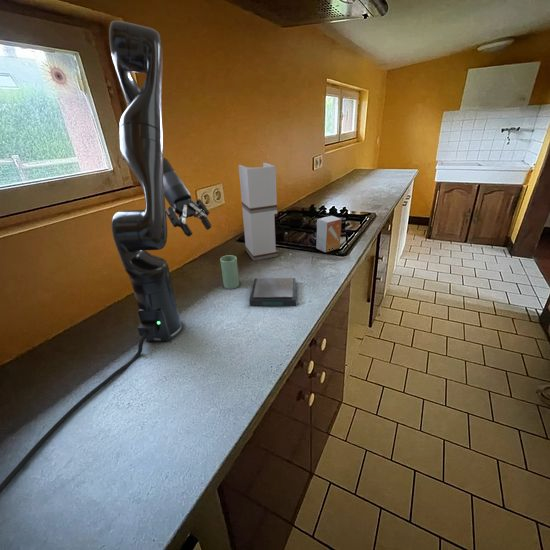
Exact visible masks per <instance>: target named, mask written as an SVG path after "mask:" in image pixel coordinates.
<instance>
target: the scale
mask: <svg viewBox="0 0 550 550" xmlns="http://www.w3.org/2000/svg"><path fill="white" fill-rule="evenodd" d="M296 281H297V279H296V277H255V278H254V280H253V284H252V286H251V287H252V288H251V293H250V296H249V300H248V301H249V306H250V307H278V306H279V307H282V306H283V307H290V306H291V307H295V306H297V282H296Z"/></svg>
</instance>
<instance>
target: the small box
mask: <svg viewBox="0 0 550 550" xmlns="http://www.w3.org/2000/svg"><path fill="white" fill-rule="evenodd" d="M342 221H343V219H342V218H340V217H337V216H335V215H328V216H324V217H321V218H317V219H316V239H315V241H316V243H315V248H316V249H317V250H319V251H321V252H323V253H329V252H331V251H335V250H338V249H340V247H341V234H342ZM332 248H333V249H332ZM329 249H330V250H329Z"/></svg>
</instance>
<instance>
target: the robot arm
mask: <svg viewBox="0 0 550 550" xmlns="http://www.w3.org/2000/svg"><path fill="white" fill-rule="evenodd" d="M108 29H109V30H108V41H109V43H108V44H109V50H110V55H111V59H112V63H113V65H114V69H115V72H116V75H117V78H118V81H119V84H120V88H121V90H122V94H123V96H124V99H125V102H126V106H127V107H126V108H125V110H124V111H123V113H122V115H121V117H120V120H119V124H118V125H119V151H120V154H121V156H122V158H123V160H124V162H125V164H127V166H128V168H129V169H130V171H131V172H132V174H133V175H134V177H135V179H137V181H138V182H139V185H140V186H141V188H142V191H143V196H144V200H145V201H144V202H145V209H128V210H127V209H126V210H119V211H117V212H115V213H114V214H113V216H112V218H111V223H110V224H111V225H110V227H111V228H110V229H111V234H112V238H113V242H114V244H115V247H116V250H117V252H118V256H119V258H120V261H121V263H122V266H123V269H124V271H125V272H126V274H127V275H128V277H129V280H130V285H131V288H132V291H133V295H134V299H135V302H136V305H137V308H138V310H137V314H138V317H139V321H140V324H139V325H138V326H137V332H138V335H139V337H141V338H140V340H139V343H138V349H137V352H136V353H135V355H134V356H133V357H132V358H131V359H130V360H129V361H128V362H126V363H125V364H124V365H122V366H120V368H118V369H117V370H115V371H114V372H113V373H112V374H110V375H109V376H108V377H107V378H105V380H103V381H102V382H100V384H98V385H97V386H96V387H94V388H93V389H92V390H91V391H90V392H88V393H87V394H86V395H85V396H83V397H82V398H81V399H80V400H79V401H78V402H77V403H75V405H73V406H72V407H71V408H70V409H69V410H68V411H67V412H66V413H65V414H63V416H62V417H61V418H60V419H59V420H58V421H57V422H56V423H55V424H54V425H53V426H52V427H51V428H50V429H49V430H48V431H47V432H46V433H45V434H44V435H43V436H42V437H41V439H39V441H37V443H36V444H35V445H34V446H33V447H32V448H31V449H30V450H29V452H28V453H27V454H26V455H25V456H24V457H23V458H22V459H21V461H20V462H19V463H18V464H17V465H16V466H15V467H14V468H13V469H12V471H11V472H10V473H9V474H8V475H7V476H6V478H5V479H4V480H2V482H1V483H0V494H1V493H2V492H3V491H4V489H5V488H6V487H7V486H8V485H9V484H11V482H12V481H13V479H14V478H15V477H16V476H17V475H18V474H19V473H20V472H21V470H22V469H23V468H24V467H25V466H26V465H27V463H28V462H29V461H30V460H31V459H32V457H33V456H34V455H35V454H36V452H38V450H39V449H40V448H41V447H42V446H43V445H44V444H45V443H46V442H47V441H48V439H50V437H52V436H53V434H54V433H56V431H57V430H58V429H59V428H60V427H61V426H62V425H63V424H64V423H65V422H66V421H67V420H68V419H69V418H70V417H71V416H72V415H73V414H74V413H75V412H76V411H77V410H78V409H79V408H80V407H81V406H83V405H84V404H85V403H86V402H87V401H88V400H89V399H90V398H91V397H93V396H94V395H95V394H96V393H97V392H99V391H100V390H101V389H102V388H104V387H105V386H106V385H107V384H109V383H110V382H111V381H112V380H113V379H114V378H116V377H117V376H118V375H120V374H121V373H122V372H123V371H125V370H126V369H128V368H129V367H130V366H131V365H132V364H133V363H134V362H136V360H137V359H139V357H140V356H141V354H142V352H143V347H144V346H143V345H144V343H145V340H146V342H170V341H171V339H172V338H174V337H176V336H177V335H179V333H180V332H181V331H182V329H183V324H182V321H181V316H180V313H179V307H178V303H177V299H176V295H175V290H174V287H173V281H172V277H171V272H170V268H169V264H168V262H167V260H166V259H164V258H163V257H161V256H157V255H155V254H152V253H150V252H149V251H159V250H162V249H164V248H165V246H166V244H167V241H168V220H167V218H168V219H169V221H170V223H171V224H172V226H173V227H174V228H176V227H179V228H180V229H181V230H182V232H183V234H184V235H185V236H186V237H188V238H189V237H191V236H192V235H193V231H192V230H191V228H190V226H189V225H188V223H186V220H187V219H188V218H192V217H194V218H197V219H199V220H200V222H201V223H202V225H203V227H204V228H205V230H207V231H208V230H210V229H211V228H212V224H211V222H210V220H209V219H208V216H209V215H210V211H209V210H208V209H207V207H206V205H205V203H204V202H203V201H202V200H201V199H200V198H199V199H197V200H196V201H194V200H193V199H192V195H191V193H190V191H189V190H188V188H187V187H186V185H185V183H184V182H183V180H182V179H181V177H180V176H179V175H178V174H177V172H176V170H175V169H174V168H173V166H172V164H171V163H170V161H169V160H168V159H167V158H166V157H164V125H163V109H162V107H163V106H162V103H163V102H162V99H163V98H162V96H163V93H162V92H163V70H164V69H163V68H164V49H163V48H164V47H163V41H162V37H161V34H160V33H159V32H158V31H157V30H156V29H154V28H152V27H149V26H145V25H140V24H136V23H131V22H129V21H128V22H127V21H123V20H112V21H111V22H110V24H109V28H108ZM132 73H136V74H142V75H146V76H145V80H144V83H143V85H142V87H141V86H140V85H139V84H138V81H136V79H135V78H134V75H133V74H132ZM166 202H167V204H168V205H169V207H168V208H167V207H166ZM166 208H167V209H166Z"/></svg>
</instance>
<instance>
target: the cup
mask: <svg viewBox="0 0 550 550" xmlns="http://www.w3.org/2000/svg"><path fill="white" fill-rule="evenodd" d="M219 261H220V262H219V263H220V269H221V277H222V284H223V287H224V289H228V290H233V289H237V288H239V286H240V275H239V265H238V258H237V256H236V255H233V254H226V255H224V256H221V257H220V259H219Z"/></svg>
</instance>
